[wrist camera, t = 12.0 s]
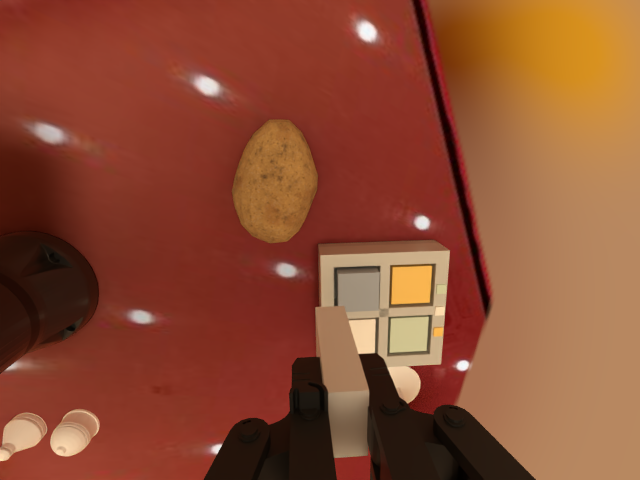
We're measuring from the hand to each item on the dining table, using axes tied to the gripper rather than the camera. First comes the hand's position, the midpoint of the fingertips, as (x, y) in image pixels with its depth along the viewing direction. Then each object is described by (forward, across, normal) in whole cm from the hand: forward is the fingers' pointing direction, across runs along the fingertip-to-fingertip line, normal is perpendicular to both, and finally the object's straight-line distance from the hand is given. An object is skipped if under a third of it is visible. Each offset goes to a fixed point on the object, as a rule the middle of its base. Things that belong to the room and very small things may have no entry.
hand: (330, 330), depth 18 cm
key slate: (+26, +6, -8) cm, 27 cm away
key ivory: (+27, +6, -15) cm, 31 cm away
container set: (+30, -42, -30) cm, 60 cm away
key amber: (+27, +13, -8) cm, 31 cm away
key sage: (+27, +13, -15) cm, 33 cm away
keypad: (+29, +9, -12) cm, 33 cm away
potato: (+30, -4, +5) cm, 30 cm away
